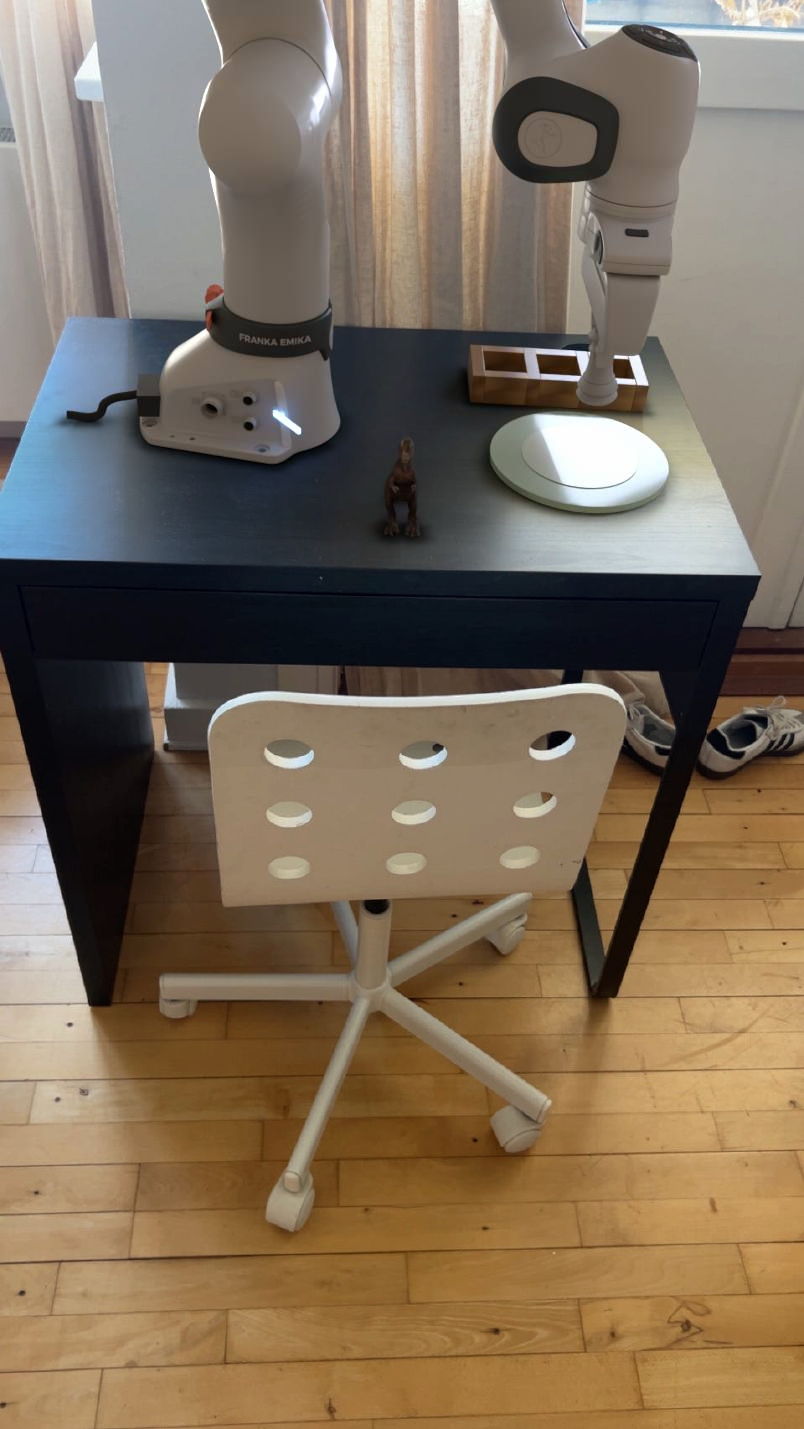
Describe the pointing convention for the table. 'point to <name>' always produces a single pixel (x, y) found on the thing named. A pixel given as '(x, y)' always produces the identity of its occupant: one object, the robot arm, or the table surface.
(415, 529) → the dinosaur model
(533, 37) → the robot arm
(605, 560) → the table surface
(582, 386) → the rook chess piece
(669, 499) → the table surface
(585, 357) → the rack
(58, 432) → the table surface
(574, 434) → the plate
